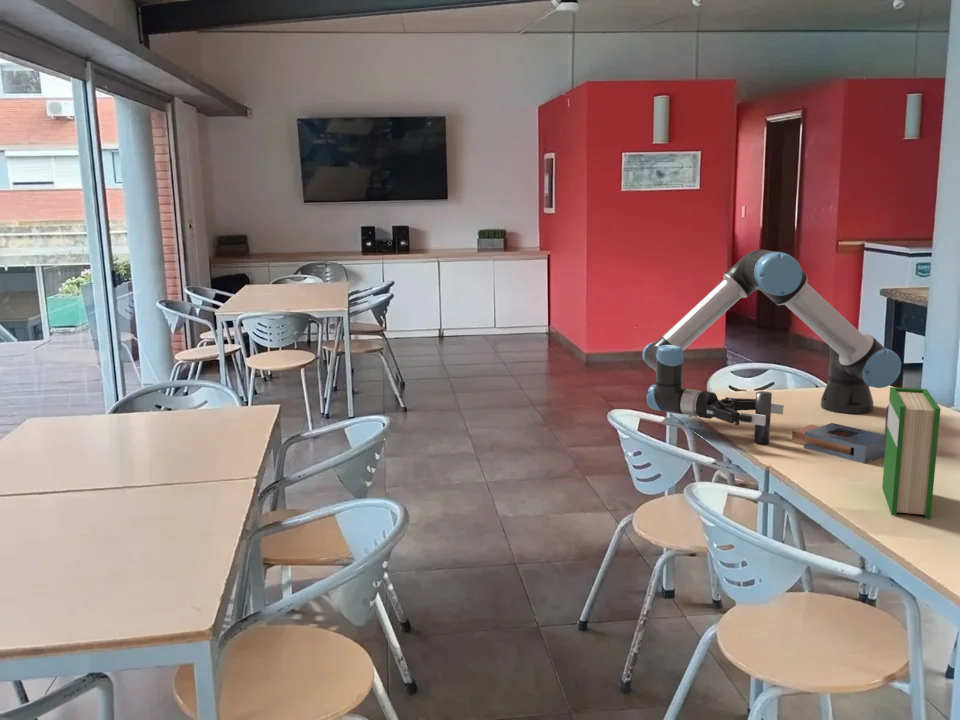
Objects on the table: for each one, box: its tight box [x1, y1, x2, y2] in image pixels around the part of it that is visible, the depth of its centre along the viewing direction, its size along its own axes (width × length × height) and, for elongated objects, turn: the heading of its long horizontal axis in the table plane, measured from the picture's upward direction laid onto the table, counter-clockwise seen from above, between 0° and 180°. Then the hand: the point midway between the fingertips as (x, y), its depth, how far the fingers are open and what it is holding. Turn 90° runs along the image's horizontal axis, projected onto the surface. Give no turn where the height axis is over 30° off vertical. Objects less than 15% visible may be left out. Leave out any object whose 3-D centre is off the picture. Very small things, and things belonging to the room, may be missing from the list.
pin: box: [753, 390, 773, 446], centre depth 231 cm, size 4×4×14 cm
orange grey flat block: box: [791, 422, 886, 464], centre depth 226 cm, size 22×13×4 cm, turn 37°
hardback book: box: [881, 386, 941, 520], centre depth 185 cm, size 18×7×24 cm, turn 161°
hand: (774, 415), depth 229 cm, fingers open, 13 cm apart
